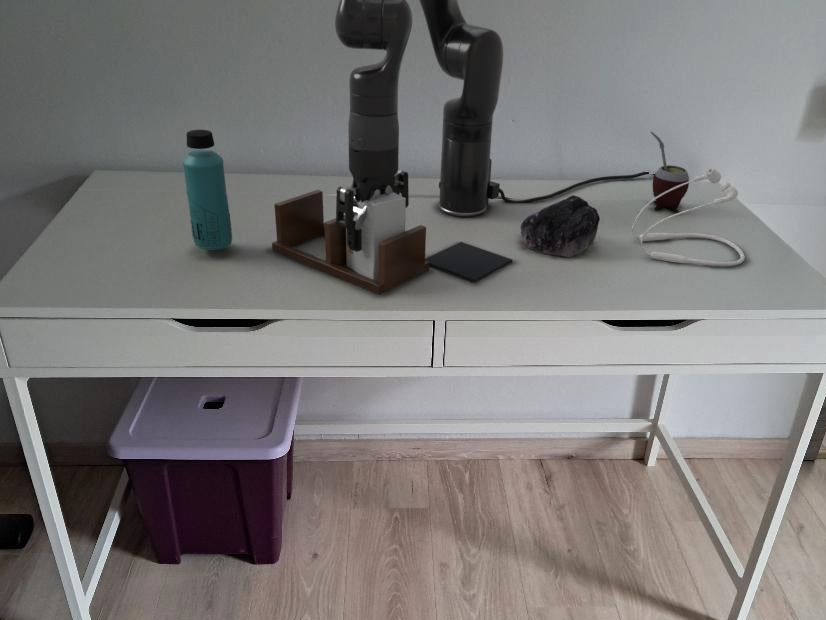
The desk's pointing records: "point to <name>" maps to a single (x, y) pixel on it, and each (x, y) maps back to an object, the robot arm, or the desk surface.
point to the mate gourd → (669, 184)
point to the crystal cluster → (561, 227)
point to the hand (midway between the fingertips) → (373, 242)
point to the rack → (306, 222)
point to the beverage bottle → (206, 193)
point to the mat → (467, 261)
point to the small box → (376, 232)
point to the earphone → (729, 195)
